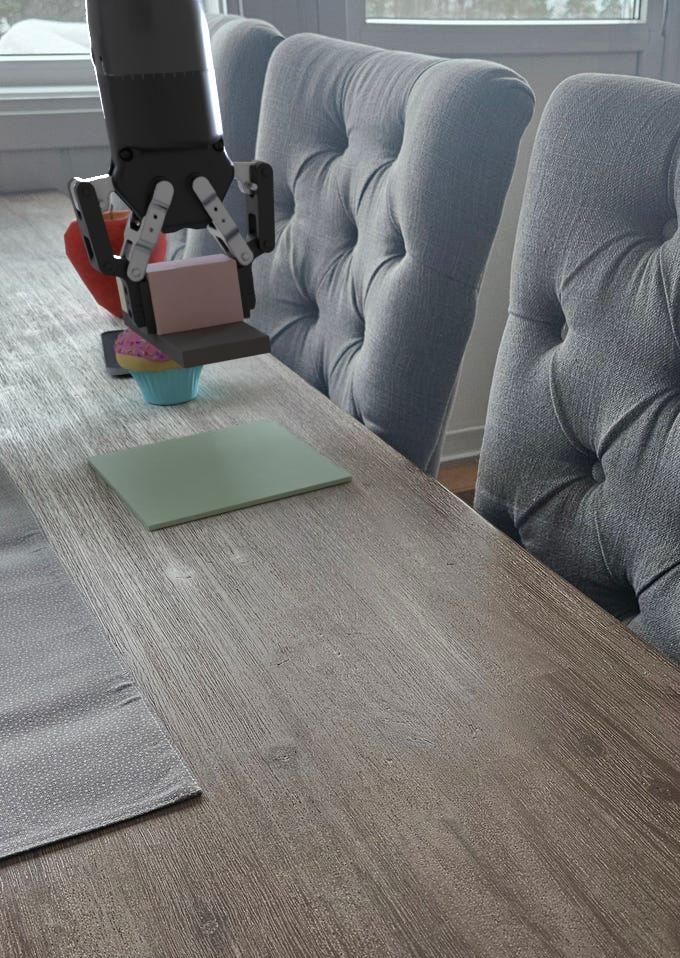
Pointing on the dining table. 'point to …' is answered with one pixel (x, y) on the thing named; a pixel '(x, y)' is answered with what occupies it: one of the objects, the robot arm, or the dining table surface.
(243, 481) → the mat
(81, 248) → the apple
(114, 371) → the smartphone
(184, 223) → the robot arm
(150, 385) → the cupcake
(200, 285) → the blocks on dark base
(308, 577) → the dining table surface
